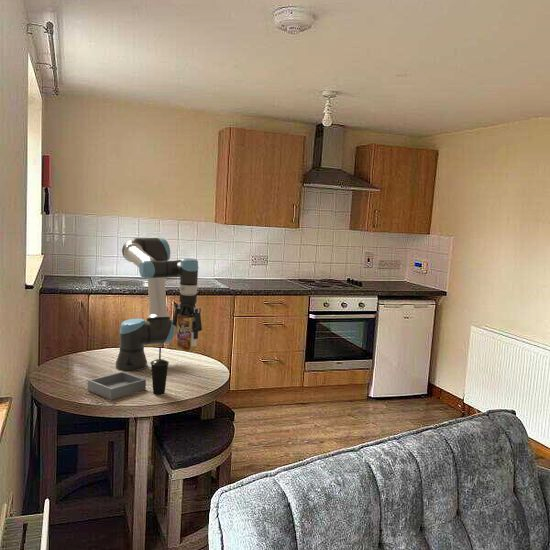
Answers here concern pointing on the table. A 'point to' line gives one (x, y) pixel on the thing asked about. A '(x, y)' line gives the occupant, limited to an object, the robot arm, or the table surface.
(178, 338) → the candy box
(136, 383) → the tray
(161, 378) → the drinking cup
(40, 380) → the table surface
